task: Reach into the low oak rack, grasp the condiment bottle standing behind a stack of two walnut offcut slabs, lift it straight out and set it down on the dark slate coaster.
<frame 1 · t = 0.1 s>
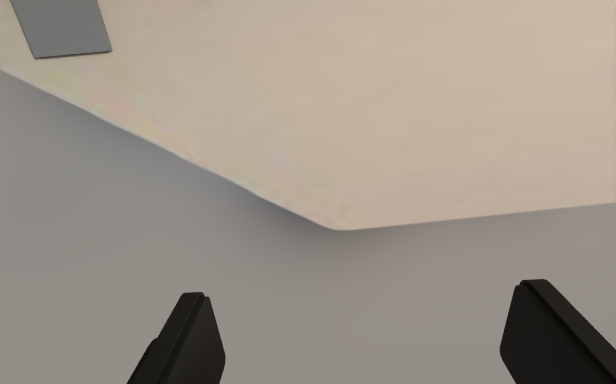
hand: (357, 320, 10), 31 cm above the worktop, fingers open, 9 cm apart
coaster: (59, 9, 34), on the worktop
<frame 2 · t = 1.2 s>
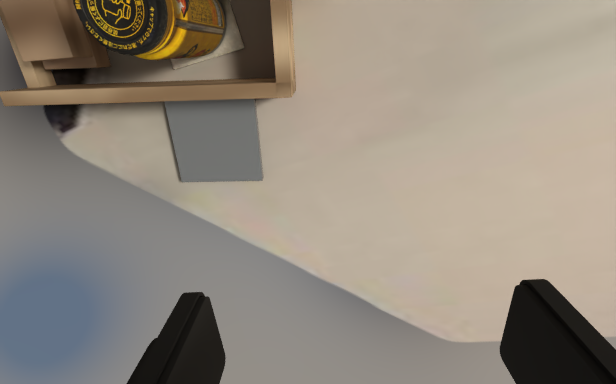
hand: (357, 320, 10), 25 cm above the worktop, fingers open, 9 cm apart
coaster: (217, 139, 33), on the worktop
offcut upper: (54, 14, 27), point 2 cm above the worktop, touching offcut lower
offcut lower: (73, 15, 29), on the worktop, touching offcut upper
rack: (152, 11, 28), on the worktop
condiment: (192, 10, 28), on the worktop
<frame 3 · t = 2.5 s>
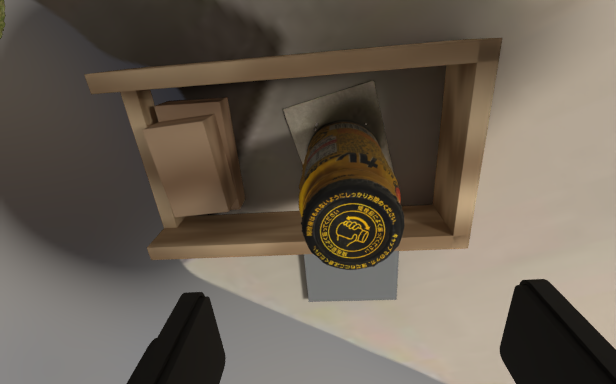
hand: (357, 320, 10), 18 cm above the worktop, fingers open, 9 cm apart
coaster: (350, 261, 31), on the worktop
offcut upper: (200, 161, 25), point 2 cm above the worktop, touching offcut lower
offcut lower: (210, 151, 27), on the worktop, touching offcut upper
rack: (299, 148, 26), on the worktop
condiment: (341, 144, 26), on the worktop
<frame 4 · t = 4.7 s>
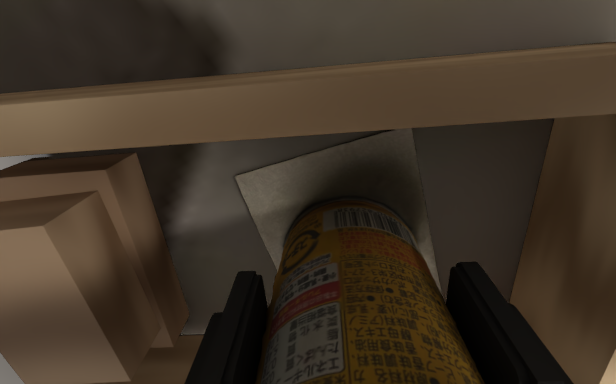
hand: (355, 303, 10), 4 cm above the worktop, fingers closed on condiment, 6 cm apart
offcut upper: (83, 271, 13), point 2 cm above the worktop
offcut lower: (121, 240, 15), on the worktop
rack: (270, 239, 14), on the worktop
condiment: (344, 233, 14), on the worktop, touching gripper
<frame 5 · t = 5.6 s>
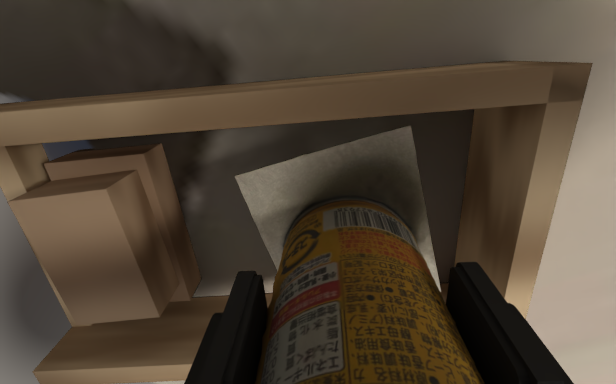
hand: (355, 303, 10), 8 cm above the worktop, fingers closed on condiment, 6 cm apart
offcut upper: (120, 236, 17), point 2 cm above the worktop, touching offcut lower
offcut lower: (146, 217, 19), on the worktop, touching offcut upper
rack: (264, 212, 18), on the worktop
condiment: (344, 233, 14), point 4 cm above the worktop, touching gripper
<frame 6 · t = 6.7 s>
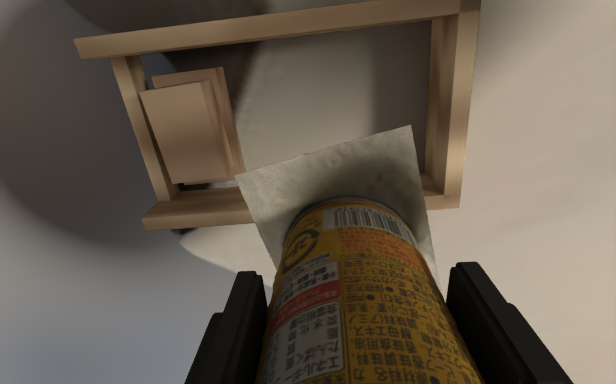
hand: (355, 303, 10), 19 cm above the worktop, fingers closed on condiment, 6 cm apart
offcut upper: (197, 128, 25), point 2 cm above the worktop
offcut lower: (208, 124, 28), on the worktop
rack: (289, 116, 26), on the worktop
condiment: (344, 232, 14), point 14 cm above the worktop, touching gripper
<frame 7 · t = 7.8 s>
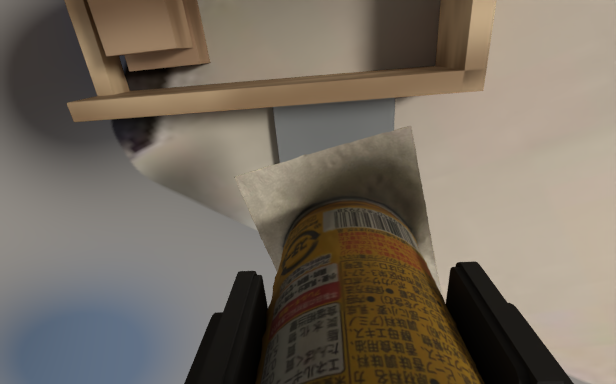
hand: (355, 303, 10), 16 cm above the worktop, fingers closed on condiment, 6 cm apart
coaster: (335, 153, 25), on the worktop
condiment: (344, 233, 14), point 12 cm above the worktop, touching gripper
when the fingers open (6 cm above the worktop, at t = 10.4 s): condiment drops 1 cm, resting on coaster.
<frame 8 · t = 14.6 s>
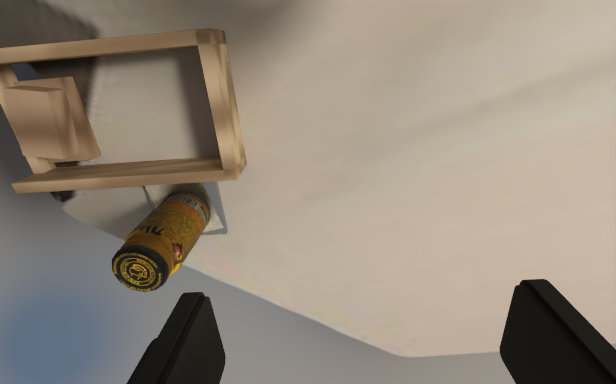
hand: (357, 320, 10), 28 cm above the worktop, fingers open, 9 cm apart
coaster: (187, 203, 40), on the worktop
offcut upper: (53, 120, 34), point 2 cm above the worktop, touching offcut lower
offcut lower: (70, 118, 37), on the worktop, touching offcut upper
rack: (128, 111, 36), on the worktop
condiment: (185, 205, 40), resting on coaster
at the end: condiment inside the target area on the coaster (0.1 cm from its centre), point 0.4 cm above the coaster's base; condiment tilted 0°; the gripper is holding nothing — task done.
